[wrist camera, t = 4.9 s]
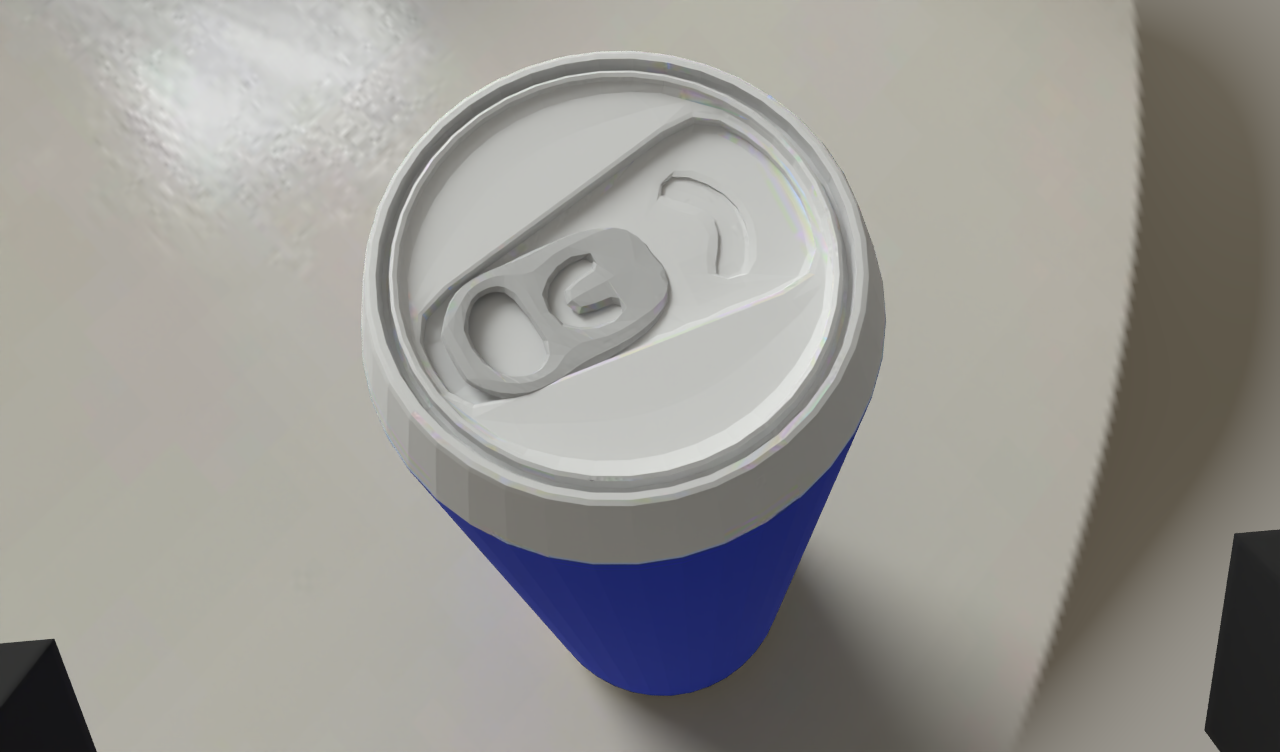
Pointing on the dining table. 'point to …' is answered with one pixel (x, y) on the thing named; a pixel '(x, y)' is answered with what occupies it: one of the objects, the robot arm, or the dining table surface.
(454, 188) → the beverage can
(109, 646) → the dining table surface
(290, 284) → the dining table surface
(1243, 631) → the robot arm
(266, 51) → the dining table surface
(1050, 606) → the dining table surface
